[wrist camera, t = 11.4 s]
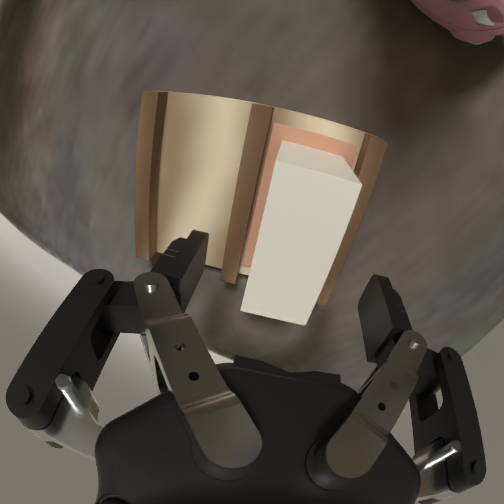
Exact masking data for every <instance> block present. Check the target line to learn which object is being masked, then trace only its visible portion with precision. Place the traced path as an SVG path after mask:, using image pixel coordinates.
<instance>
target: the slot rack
mask: <svg viewBox="0 0 504 504" xmlns="http://www.w3.org/2000/svg"><path fill="white" fill-rule="evenodd" d="M282 140H283V141H287V142H291V143H295V144H299V145H303V146H307V147H311V148H314V149H318V150H321V151H325V152H328V153H332V154H335V155H338V156H342V157H343V158H344V159H345V161H346V162H347V163H348V165H349V166H350V168H351V169H352V170H353V172H354V173H355V175H356V176H357V178H358V179H359V181H360V182H361V183H362V187H361V190H360V193H359V196H358V199H357V202H356V204H355V207H354V210H353V213H352V215H351V218H350V221H349V223H348V226H347V229H346V231H345V234H344V236H343V239H342V242H341V244H340V247H339V249H338V252H337V254H336V257H335V259H334V261H333V264H332V266H331V269H330V271H329V273H328V276H327V278H326V281H325V283H324V285H323V287H322V290H321V292H320V294H319V297H318V299H317V301H316V304H320V305H325V304H326V302H327V300H328V298H329V295H330V293H331V291H332V289H333V287H334V285H335V282H336V280H337V278H338V276H339V273H340V271H341V269H342V267H343V264H344V262H345V260H346V257H347V255H348V253H349V250H350V248H351V245H352V243H353V241H354V238H355V236H356V233H357V231H358V228H359V226H360V223H361V221H362V218H363V215H364V213H365V210H366V207H367V205H368V202H369V199H370V197H371V194H372V191H373V188H374V185H375V183H376V180H377V177H378V174H379V171H380V168H381V165H382V162H383V159H384V156H385V153H386V150H387V146H388V142H387V141H385V140H383V139H381V138H379V137H377V136H375V135H372V134H369V133H366V132H363V131H361V130H358V129H355V128H352V127H349V126H345V125H342V124H339V123H336V122H333V121H329V120H326V119H322V118H319V117H315V116H311V115H308V114H304V113H300V112H296V111H292V110H288V109H283V108H279V107H274V106H270V105H265V104H260V103H255V102H249V101H244V100H238V99H232V98H225V97H218V96H211V95H203V94H194V93H184V92H172V91H142V99H141V107H140V117H139V127H138V139H137V154H136V176H135V241H136V258H139V259H143V260H146V261H149V260H150V259H151V258H152V257H153V255H154V254H155V253H156V252H160V253H164V252H165V250H166V249H167V247H168V246H169V245H170V243H171V242H172V241H174V240H176V239H177V238H179V237H182V238H186V239H187V237H188V236H189V235H190V233H191V232H192V230H198V231H202V232H206V233H209V240H208V247H207V255H206V263H205V265H209V266H213V267H217V268H221V269H222V270H221V276H220V281H224V282H228V283H232V284H235V283H236V279H237V276H238V273H241V274H245V275H249V273H250V268H251V264H252V260H253V256H254V251H255V247H256V243H257V238H258V234H259V230H260V226H261V221H262V217H263V213H264V209H265V204H266V200H267V196H268V192H269V187H270V183H271V179H272V174H273V170H274V166H275V162H276V158H277V155H278V152H279V149H280V146H281V143H282Z"/></svg>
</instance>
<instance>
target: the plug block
mask: <svg viewBox="0 0 504 504" xmlns="http://www.w3.org/2000/svg"><path fill="white" fill-rule="evenodd" d="M361 187H362V183H361V182H360V181H359V179H358V178H357V176H356V175H355V173H354V172H353V170H352V169H351V168H350V166H349V165H348V163H347V162H346V161H345V159H344V158H343V157H342V156H338V155H335V154H332V153H328V152H325V151H321V150H318V149H314V148H311V147H307V146H303V145H299V144H295V143H291V142H287V141H283V140H282V143H281V146H280V149H279V152H278V155H277V158H276V162H275V166H274V170H273V174H272V179H271V183H270V187H269V192H268V196H267V200H266V204H265V209H264V213H263V217H262V221H261V226H260V230H259V234H258V238H257V243H256V247H255V251H254V256H253V260H252V264H251V268H250V273H249V277H248V281H247V285H246V290H245V294H244V298H243V302H242V306H241V311H244V312H248V313H252V314H256V315H261V316H265V317H269V318H273V319H278V320H282V321H287V322H291V323H296V324H301V325H306V323H307V321H308V319H309V317H310V314H311V312H312V310H313V308H314V306H315V303H316V301H317V299H318V297H319V294H320V292H321V290H322V287H323V285H324V283H325V281H326V278H327V276H328V273H329V271H330V269H331V266H332V264H333V261H334V259H335V257H336V254H337V252H338V249H339V247H340V244H341V242H342V239H343V236H344V234H345V231H346V229H347V226H348V223H349V221H350V218H351V215H352V213H353V210H354V207H355V204H356V202H357V199H358V196H359V193H360V190H361Z"/></svg>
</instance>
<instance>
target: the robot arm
mask: <svg viewBox="0 0 504 504" xmlns="http://www.w3.org/2000/svg"><path fill="white" fill-rule="evenodd" d="M208 240H209V233H206V232H202V231H198V230H192V232H191V233H190V235H189V236H188V237H187V239H186V238H182V237H179V238H177V239H176V240H174V241H172V242H171V243H170V245H169V246H168V247H167V249H166V250H165V252H164V253H163V255H162V256H161V257H160V259H159V260H158V261H157V263H156V264H155V266H154V267H153V268H152V270H151V271H150V272H147V273H143V274H141V275H139V276H137V277H136V279H135V280H134V281H132V282H125V281H114V277H113V275H112V273H111V272H109V271H107V270H104V269H94V270H91V271H89V272H87V273H85V274H84V275H83V276H82V278H81V279H80V280H79V282H78V283H77V284H76V285H75V287H74V288H73V289H72V291H71V292H70V293H69V295H68V296H67V297H66V299H65V300H64V302H63V303H62V304H61V305H60V307H59V308H58V309H57V311H56V312H55V314H54V315H53V317H52V318H51V319H50V321H49V322H48V324H47V325H46V327H45V328H44V330H43V331H42V332H41V334H40V335H39V337H38V339H37V340H36V342H35V343H34V345H33V347H32V348H31V349H30V351H29V353H28V354H27V356H26V357H25V359H24V361H23V363H22V364H21V366H20V367H19V369H18V371H17V373H16V374H15V376H14V378H13V380H12V382H11V383H10V385H9V387H8V389H7V392H6V403H7V406H8V408H9V409H10V411H11V412H12V413H13V414H14V415H15V416H16V417H17V418H18V419H19V420H20V421H21V422H22V423H23V425H24V426H25V427H27V428H28V429H29V430H30V431H31V432H33V433H34V434H35V435H36V436H37V437H39V438H40V439H42V440H44V441H45V442H46V443H48V444H49V445H51V446H52V447H55V448H63V447H65V448H67V449H69V450H71V451H73V452H75V453H77V454H79V455H81V456H84V457H86V458H88V459H90V460H93V461H95V462H96V465H97V470H98V481H99V485H98V486H99V487H98V495H97V499H96V502H95V504H415V502H416V501H418V502H419V503H421V504H432V503H435V502H438V501H440V500H443V499H446V498H448V497H451V496H453V495H456V494H458V493H460V492H462V491H465V490H467V489H469V488H472V487H474V486H476V485H478V484H480V483H481V482H482V481H483V479H484V477H485V474H486V462H485V455H484V449H483V443H482V436H481V431H480V426H479V422H478V417H477V412H476V408H475V404H474V400H473V396H472V392H471V389H470V386H469V382H468V378H467V375H466V372H465V369H464V365H463V362H462V359H461V357H460V355H459V354H458V353H457V352H456V351H455V350H454V349H452V348H450V347H444V348H442V350H441V351H440V352H439V353H437V352H435V351H432V350H430V349H428V348H427V343H426V341H425V339H424V338H423V337H422V336H421V335H420V334H419V333H417V332H415V331H413V330H412V327H411V324H410V321H409V318H408V316H407V313H406V312H405V311H406V310H405V307H404V306H403V302H402V299H401V297H400V296H399V294H398V293H397V292H396V291H395V289H393V288H392V285H391V283H390V280H389V278H387V277H383V276H379V275H376V274H374V275H373V276H372V277H371V279H370V281H369V283H368V284H367V286H366V288H365V290H364V292H363V294H362V296H361V298H360V300H359V303H358V312H359V317H360V323H361V328H362V333H363V339H364V345H365V350H366V357H367V362H372V363H377V366H376V368H375V369H374V370H373V371H372V373H371V374H370V375H369V377H368V378H367V380H366V381H365V382H364V384H363V385H362V386H361V388H360V389H359V390H358V392H356V391H354V390H353V389H352V388H350V387H348V386H346V385H344V384H342V383H341V378H340V375H338V374H331V373H324V372H318V371H313V372H295V373H290V372H286V371H284V370H282V369H279V368H277V367H274V366H272V365H270V364H267V363H265V362H263V361H259V360H254V359H250V358H245V357H241V356H237V355H235V359H234V363H221V364H215V363H214V361H213V359H212V358H211V356H210V354H209V352H208V350H207V348H206V346H205V344H204V342H203V340H202V338H201V336H200V334H199V332H198V330H197V328H196V326H195V324H194V322H193V320H192V318H191V317H190V315H189V314H184V312H185V310H186V308H187V306H188V303H189V301H190V299H191V297H192V295H193V293H194V290H195V288H196V286H197V284H198V282H199V280H200V277H201V275H202V273H203V270H204V267H205V263H206V255H207V247H208ZM120 333H137V334H140V337H141V340H142V344H143V347H144V350H145V353H146V355H147V359H148V361H149V365H150V368H151V371H152V375H153V378H154V382H155V385H156V388H157V390H158V393H159V395H158V396H156V397H154V398H153V399H151V400H149V401H147V402H145V403H144V404H142V405H140V406H138V407H136V408H134V409H133V410H131V411H129V412H127V413H125V414H123V415H121V416H120V417H117V418H116V419H114V420H112V421H111V422H109V423H108V424H107V425H106V426H105V427H104V428H103V427H101V426H99V425H98V413H99V405H98V402H97V400H96V398H95V396H94V395H93V393H92V391H93V388H94V386H95V384H96V382H97V380H98V377H99V375H100V373H101V371H102V369H103V367H104V364H105V362H106V360H107V358H108V356H109V354H110V352H111V350H112V348H113V346H114V344H115V342H116V340H117V338H118V336H119V334H120ZM440 388H441V391H442V396H443V403H442V406H441V408H440V409H439V410H438V405H437V399H436V394H435V393H436V392H437V391H438V390H439V389H440ZM408 399H409V402H410V409H411V417H412V427H413V437H414V451H415V455H414V457H413V459H411V458H410V457H409V455H408V454H407V453H406V451H405V450H404V449H403V448H402V446H401V445H400V444H399V443H398V442H397V440H396V439H395V438H394V437H393V435H392V434H391V433H390V432H391V430H392V428H393V427H394V425H395V423H396V421H397V420H398V418H399V416H400V414H401V412H402V410H403V409H404V407H405V405H406V403H407V401H408Z"/></svg>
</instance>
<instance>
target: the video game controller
mask: <svg viewBox="0 0 504 504" xmlns="http://www.w3.org/2000/svg"><path fill="white" fill-rule="evenodd" d="M410 1H411V2H412V3H413V4H414V5H415V6H416V7H417V8H418V9H419V10H420V11H422V12H423V13H424V14H425V15H427V16H428V17H429V18H431V19H432V20H433V21H435V22H436V23H438V24H439V25H441V26H443V27H444V28H446V29H447V30H449V31H450V32H451V34H452V35H453V36H454V37H455V38H457V39H459V40H462V41H465V42H470V43H472V44H476V45H478V44H481V43H485V42H489V41H491V40H493V39H494V38H495V36H497V35H503V34H504V0H463V1H458V2H457V1H452V0H410Z"/></svg>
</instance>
